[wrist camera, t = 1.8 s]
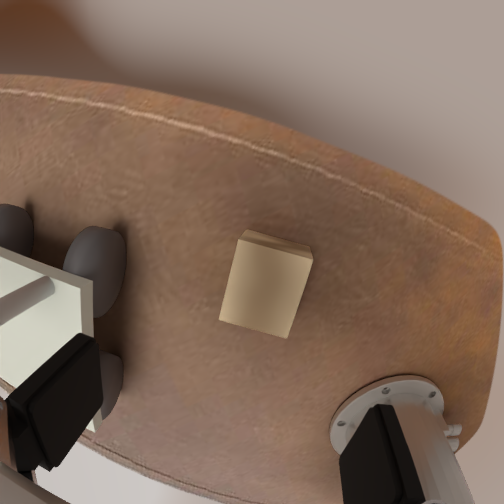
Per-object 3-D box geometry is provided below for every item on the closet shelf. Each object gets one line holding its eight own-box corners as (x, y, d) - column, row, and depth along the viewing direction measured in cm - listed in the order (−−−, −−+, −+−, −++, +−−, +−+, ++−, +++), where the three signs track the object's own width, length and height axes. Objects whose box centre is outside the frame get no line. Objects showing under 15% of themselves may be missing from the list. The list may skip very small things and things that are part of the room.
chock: (309, 246, 24) (313, 259, 20) (287, 314, 25) (286, 338, 21) (246, 228, 24) (238, 239, 20) (228, 298, 26) (218, 319, 22)
